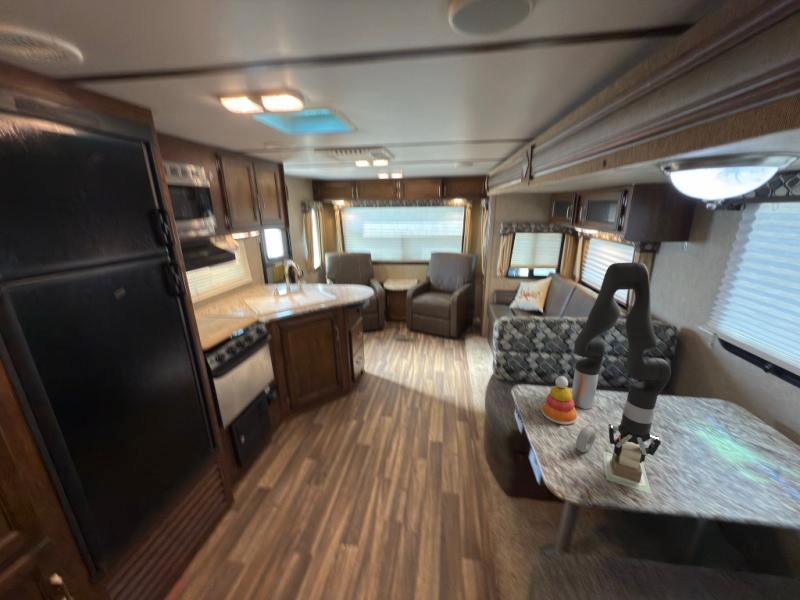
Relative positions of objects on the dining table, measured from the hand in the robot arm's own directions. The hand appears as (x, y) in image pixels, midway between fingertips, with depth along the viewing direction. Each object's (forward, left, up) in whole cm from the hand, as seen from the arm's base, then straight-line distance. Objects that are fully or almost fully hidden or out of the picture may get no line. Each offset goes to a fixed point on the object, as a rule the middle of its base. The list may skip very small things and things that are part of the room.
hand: (628, 457), depth 102 cm
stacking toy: (-23, -21, -7) cm, 32 cm away
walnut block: (0, 0, -5) cm, 5 cm away
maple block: (0, 0, -1) cm, 1 cm away
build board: (0, 0, -6) cm, 6 cm away
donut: (-5, -12, -6) cm, 15 cm away
